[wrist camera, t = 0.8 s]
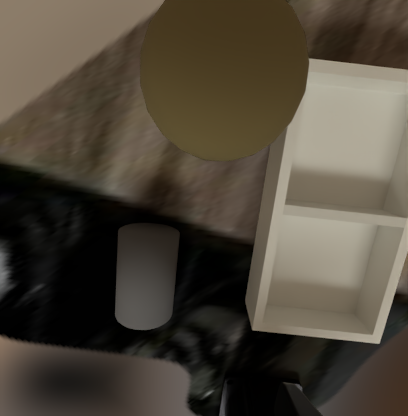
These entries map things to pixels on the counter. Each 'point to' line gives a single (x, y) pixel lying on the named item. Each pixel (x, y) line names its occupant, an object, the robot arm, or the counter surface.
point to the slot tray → (334, 208)
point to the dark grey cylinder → (146, 274)
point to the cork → (223, 74)
